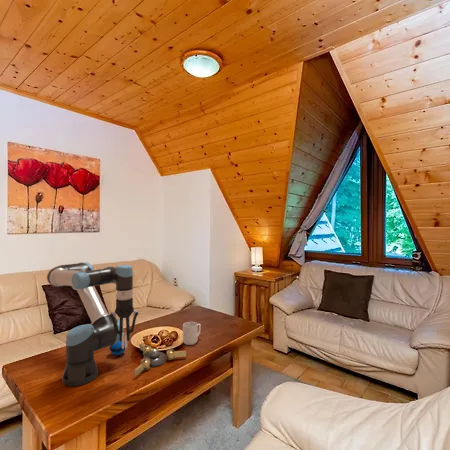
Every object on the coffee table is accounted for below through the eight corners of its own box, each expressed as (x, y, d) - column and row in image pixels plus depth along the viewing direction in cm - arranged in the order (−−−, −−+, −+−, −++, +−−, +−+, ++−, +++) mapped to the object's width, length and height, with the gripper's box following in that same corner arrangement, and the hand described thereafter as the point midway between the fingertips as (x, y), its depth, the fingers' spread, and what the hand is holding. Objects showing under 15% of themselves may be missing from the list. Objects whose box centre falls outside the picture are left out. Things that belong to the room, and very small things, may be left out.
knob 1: (152, 353, 156) (152, 346, 156) (145, 356, 153) (145, 349, 153) (144, 347, 164) (144, 340, 163) (136, 350, 161) (136, 343, 160)
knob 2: (144, 364, 144) (144, 357, 144) (151, 366, 143) (151, 358, 143) (131, 375, 135) (131, 367, 135) (139, 376, 133) (139, 368, 133)
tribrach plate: (142, 368, 143) (142, 356, 143) (143, 357, 154) (143, 346, 154) (165, 365, 145) (165, 353, 145) (165, 355, 157) (165, 344, 157)
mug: (188, 347, 167) (188, 328, 167) (180, 342, 173) (180, 324, 173) (204, 341, 175) (204, 323, 174) (196, 336, 181) (196, 319, 181)
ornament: (109, 352, 160) (109, 335, 159) (125, 349, 163) (125, 332, 163) (109, 359, 152) (109, 341, 151) (126, 356, 155) (126, 338, 155)
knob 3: (166, 360, 149) (166, 352, 149) (166, 356, 153) (166, 349, 153) (186, 358, 151) (186, 350, 151) (185, 354, 156) (185, 347, 155)
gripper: (107, 301, 129) (107, 352, 129) (138, 299, 132) (139, 349, 132) (110, 296, 136) (110, 345, 137) (140, 295, 139) (140, 342, 140)
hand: (124, 347), depth 135 cm, fingers closed
